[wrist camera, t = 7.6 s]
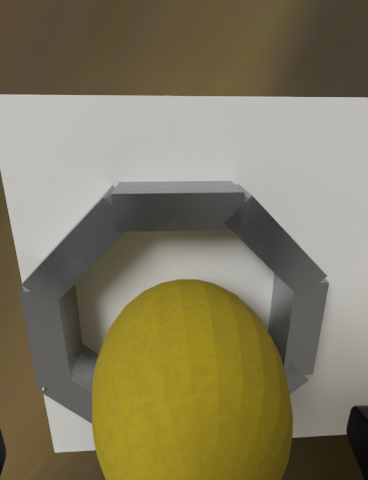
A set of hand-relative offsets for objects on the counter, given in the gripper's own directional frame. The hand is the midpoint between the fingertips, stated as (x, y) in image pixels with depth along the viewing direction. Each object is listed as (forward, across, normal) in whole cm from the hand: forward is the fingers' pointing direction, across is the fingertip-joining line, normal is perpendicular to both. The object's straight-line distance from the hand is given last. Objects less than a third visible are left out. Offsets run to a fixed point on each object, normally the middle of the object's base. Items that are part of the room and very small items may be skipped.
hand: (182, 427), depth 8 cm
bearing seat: (+6, 0, 0) cm, 6 cm away
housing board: (+6, -6, 0) cm, 9 cm away
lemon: (+6, 0, 0) cm, 6 cm away
